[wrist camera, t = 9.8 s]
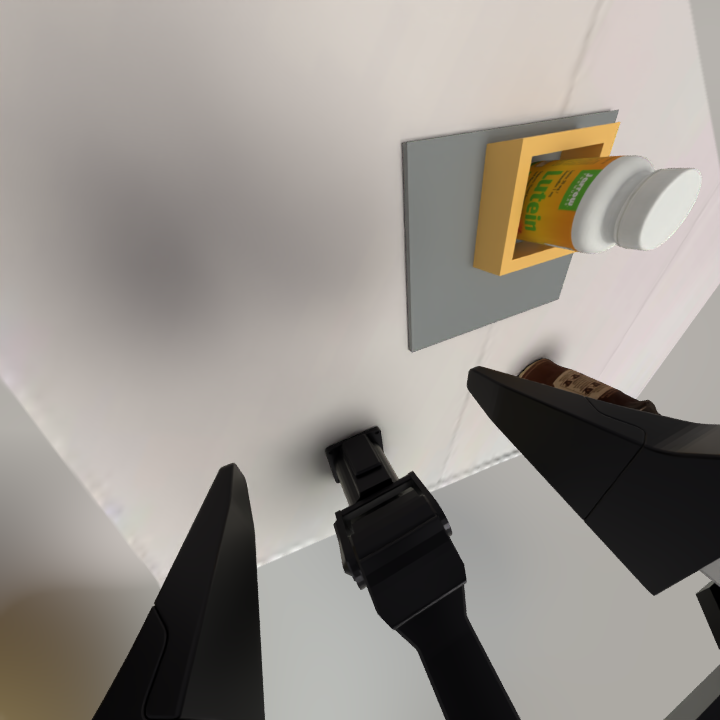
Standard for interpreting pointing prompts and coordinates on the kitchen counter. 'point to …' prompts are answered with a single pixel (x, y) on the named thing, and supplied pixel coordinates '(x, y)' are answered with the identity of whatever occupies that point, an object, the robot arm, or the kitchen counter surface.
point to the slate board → (466, 236)
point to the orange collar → (507, 193)
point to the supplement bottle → (605, 203)
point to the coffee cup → (581, 385)
